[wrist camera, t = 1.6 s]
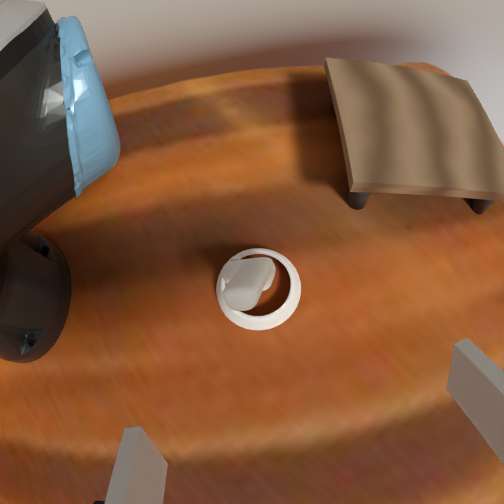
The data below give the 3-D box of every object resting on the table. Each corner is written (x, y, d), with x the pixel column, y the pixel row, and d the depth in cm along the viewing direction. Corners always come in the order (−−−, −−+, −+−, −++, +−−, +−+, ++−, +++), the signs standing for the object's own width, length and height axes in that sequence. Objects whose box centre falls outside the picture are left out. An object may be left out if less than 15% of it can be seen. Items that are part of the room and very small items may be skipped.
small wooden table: (339, 218, 31) (353, 182, 25) (320, 96, 37) (325, 57, 31) (492, 222, 30) (522, 196, 24) (451, 111, 36) (467, 80, 30)
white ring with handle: (200, 386, 21) (165, 299, 20) (233, 314, 33) (214, 250, 31) (305, 375, 20) (282, 277, 18) (306, 301, 31) (290, 233, 30)
